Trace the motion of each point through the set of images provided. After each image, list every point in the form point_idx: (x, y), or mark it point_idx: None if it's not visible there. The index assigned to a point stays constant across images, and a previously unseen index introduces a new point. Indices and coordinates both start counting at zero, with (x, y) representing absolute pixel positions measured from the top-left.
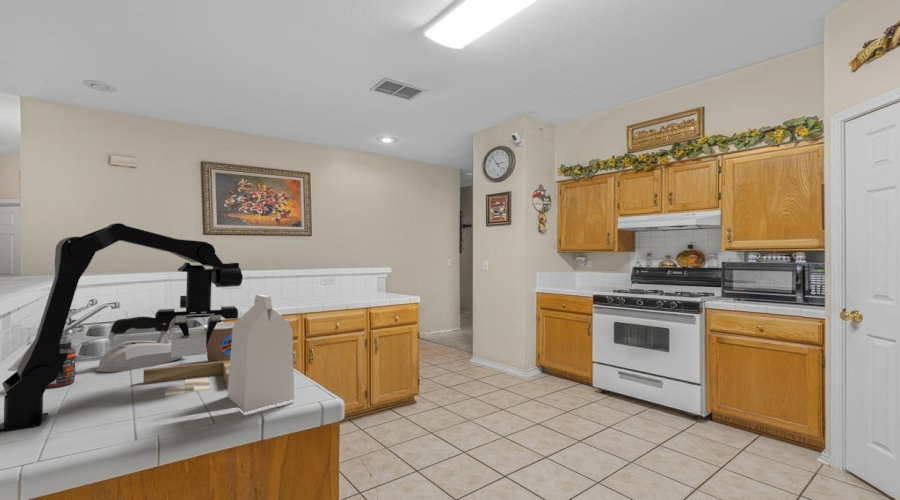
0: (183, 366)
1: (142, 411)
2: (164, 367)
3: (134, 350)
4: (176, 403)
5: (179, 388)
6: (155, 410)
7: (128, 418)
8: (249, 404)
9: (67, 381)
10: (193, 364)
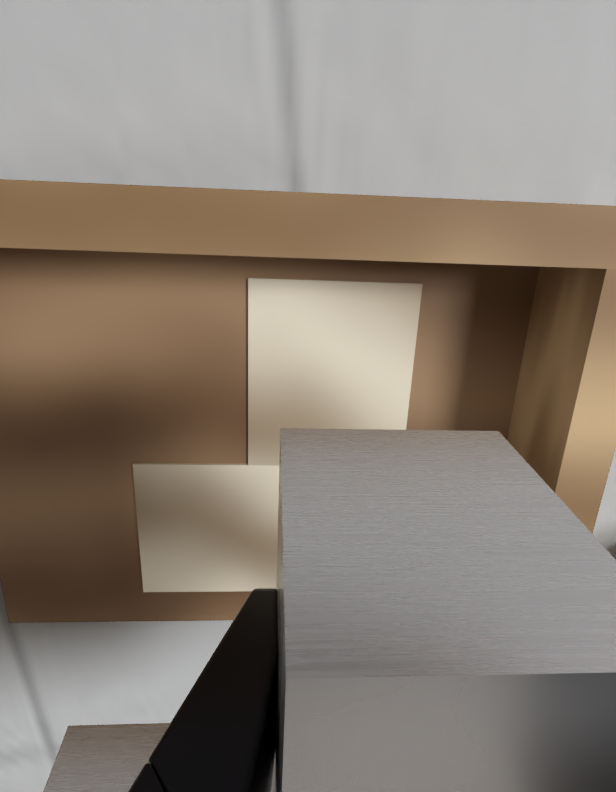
0: (224, 254)
1: (66, 686)
2: (30, 193)
3: None
4: (212, 646)
5: (216, 495)
6: (124, 696)
7: (25, 740)
8: None
9: None
10: (323, 209)
